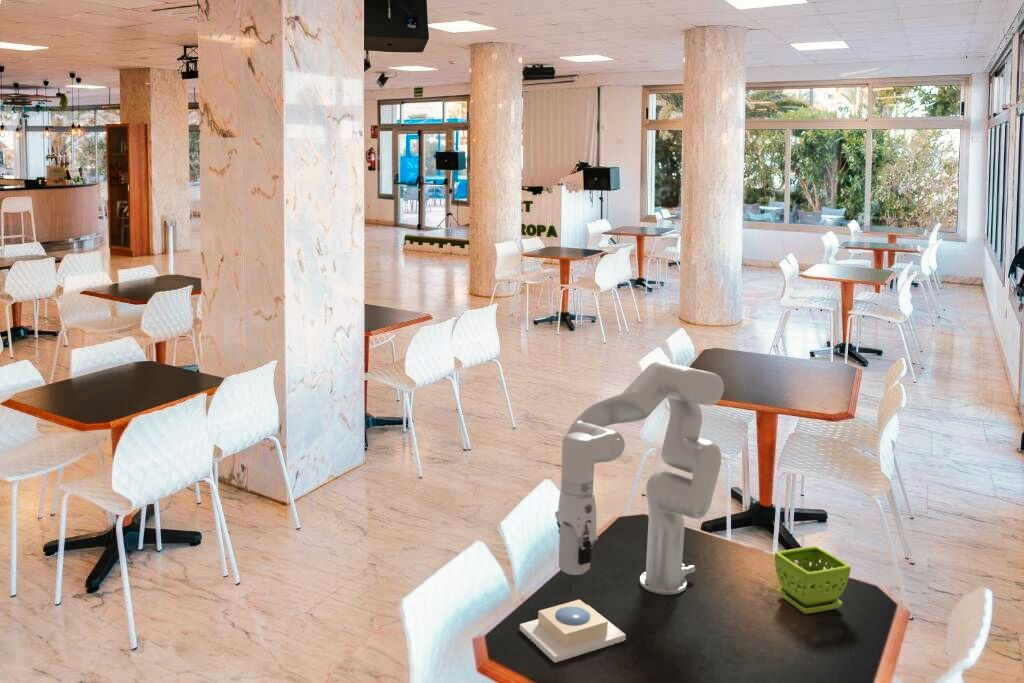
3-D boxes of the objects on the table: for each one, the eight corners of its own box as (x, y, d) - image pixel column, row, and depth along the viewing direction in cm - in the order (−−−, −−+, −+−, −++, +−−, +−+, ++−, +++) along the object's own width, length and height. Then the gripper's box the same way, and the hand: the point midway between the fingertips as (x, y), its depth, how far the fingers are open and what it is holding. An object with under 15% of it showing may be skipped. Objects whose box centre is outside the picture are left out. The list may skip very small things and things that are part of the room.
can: (588, 578, 203) (589, 530, 200) (556, 574, 204) (557, 526, 202) (591, 563, 210) (593, 517, 208) (560, 560, 212) (562, 514, 209)
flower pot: (848, 612, 224) (853, 566, 221) (803, 621, 219) (807, 574, 216) (812, 587, 237) (816, 543, 234) (769, 595, 232) (772, 550, 229)
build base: (587, 610, 223) (588, 591, 221) (625, 640, 209) (626, 620, 208) (519, 629, 213) (520, 610, 212) (554, 662, 199) (555, 642, 198)
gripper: (612, 495, 197) (609, 568, 201) (570, 471, 212) (568, 539, 216) (584, 501, 194) (582, 575, 197) (543, 476, 209) (542, 545, 212)
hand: (574, 555), depth 207 cm, fingers closed on can, 7 cm apart
